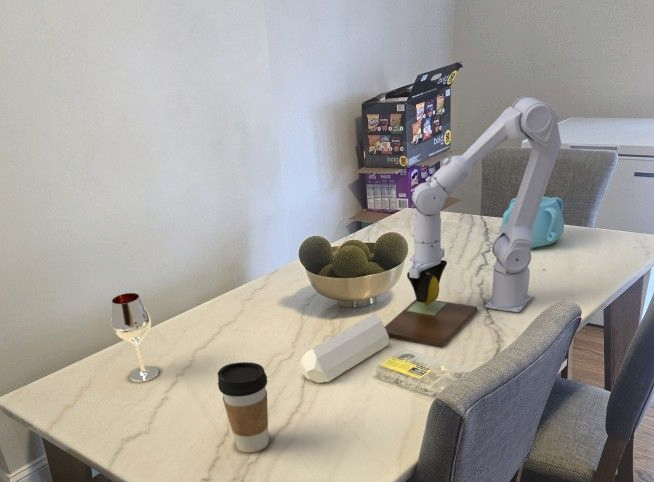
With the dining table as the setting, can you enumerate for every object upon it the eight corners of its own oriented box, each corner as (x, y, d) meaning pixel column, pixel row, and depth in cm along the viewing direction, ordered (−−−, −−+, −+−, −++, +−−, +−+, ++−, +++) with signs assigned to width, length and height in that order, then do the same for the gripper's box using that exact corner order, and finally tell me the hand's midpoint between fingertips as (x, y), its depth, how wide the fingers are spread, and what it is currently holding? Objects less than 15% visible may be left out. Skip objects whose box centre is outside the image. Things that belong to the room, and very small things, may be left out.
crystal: (361, 317, 154) (286, 359, 141) (383, 308, 148) (307, 351, 135) (375, 347, 155) (302, 391, 142) (397, 339, 150) (323, 385, 136)
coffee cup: (228, 433, 127) (215, 362, 119) (273, 427, 128) (263, 355, 119) (229, 459, 120) (216, 385, 112) (277, 453, 120) (267, 378, 112)
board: (417, 302, 168) (417, 296, 167) (477, 311, 160) (477, 305, 159) (379, 336, 154) (379, 330, 154) (442, 347, 146) (442, 341, 146)
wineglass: (169, 366, 153) (152, 291, 143) (152, 385, 147) (133, 307, 137) (137, 364, 156) (118, 290, 146) (119, 382, 149) (98, 306, 140)
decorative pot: (554, 255, 183) (559, 204, 176) (493, 250, 191) (496, 201, 184) (567, 235, 195) (573, 186, 187) (509, 231, 202) (513, 184, 195)
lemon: (438, 310, 158) (439, 277, 154) (414, 310, 160) (414, 277, 155) (438, 301, 163) (439, 268, 159) (415, 301, 164) (415, 269, 160)
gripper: (424, 227, 160) (424, 283, 167) (396, 248, 150) (397, 306, 157) (453, 230, 156) (451, 286, 163) (426, 251, 146) (426, 310, 154)
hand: (427, 296), depth 160 cm, fingers closed on lemon, 5 cm apart
